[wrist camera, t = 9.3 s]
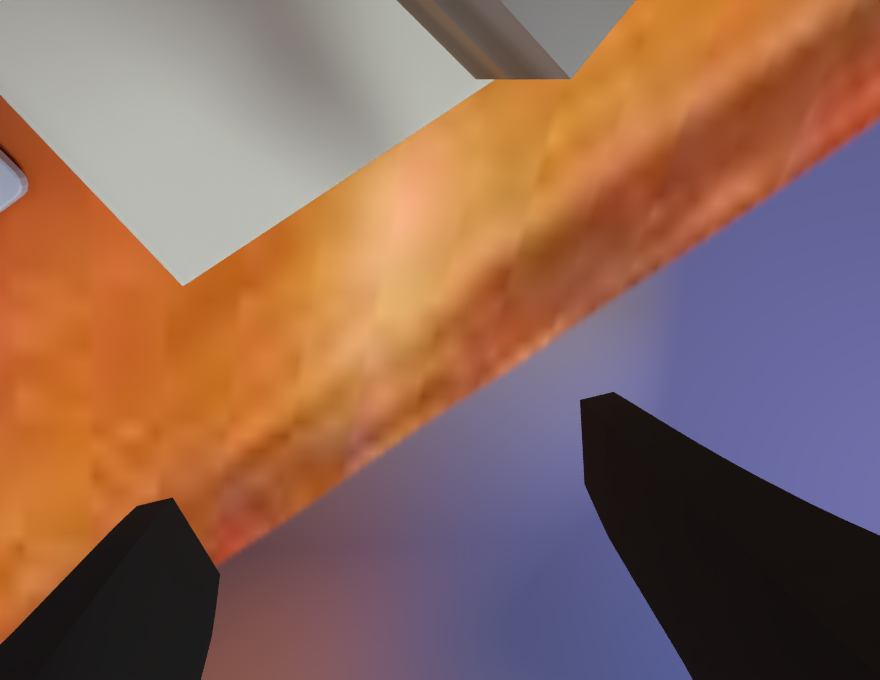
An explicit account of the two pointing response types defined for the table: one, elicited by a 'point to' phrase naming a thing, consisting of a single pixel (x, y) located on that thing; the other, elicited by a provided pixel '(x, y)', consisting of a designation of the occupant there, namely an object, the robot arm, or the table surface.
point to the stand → (220, 105)
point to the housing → (519, 33)
